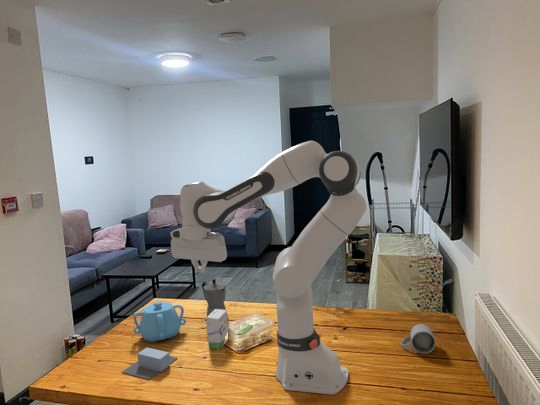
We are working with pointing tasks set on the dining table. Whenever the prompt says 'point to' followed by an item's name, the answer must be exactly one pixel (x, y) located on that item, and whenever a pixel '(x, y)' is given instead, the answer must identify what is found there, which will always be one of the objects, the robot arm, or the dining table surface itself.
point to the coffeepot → (214, 295)
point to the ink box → (217, 328)
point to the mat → (143, 370)
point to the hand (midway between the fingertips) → (200, 272)
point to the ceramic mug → (420, 339)
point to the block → (154, 359)
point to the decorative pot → (159, 321)
